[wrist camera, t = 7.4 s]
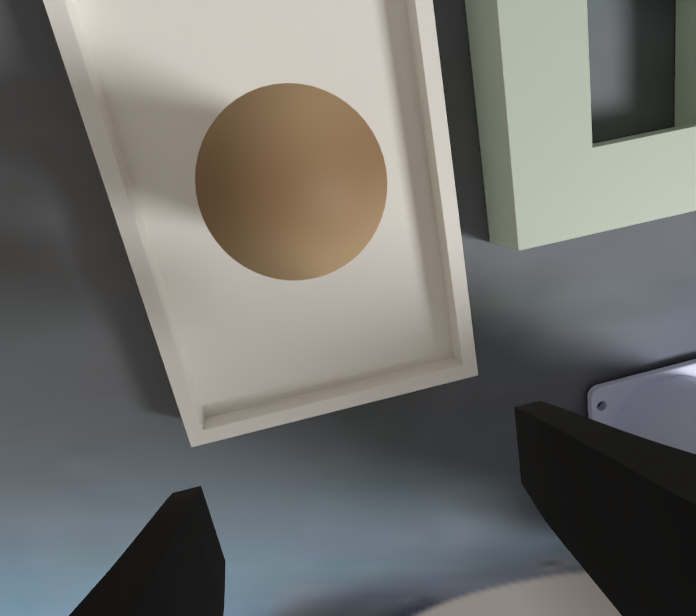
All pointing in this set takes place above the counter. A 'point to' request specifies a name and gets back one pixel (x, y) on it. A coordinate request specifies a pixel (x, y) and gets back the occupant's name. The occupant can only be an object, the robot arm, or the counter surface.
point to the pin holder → (569, 128)
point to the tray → (222, 270)
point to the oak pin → (291, 181)
